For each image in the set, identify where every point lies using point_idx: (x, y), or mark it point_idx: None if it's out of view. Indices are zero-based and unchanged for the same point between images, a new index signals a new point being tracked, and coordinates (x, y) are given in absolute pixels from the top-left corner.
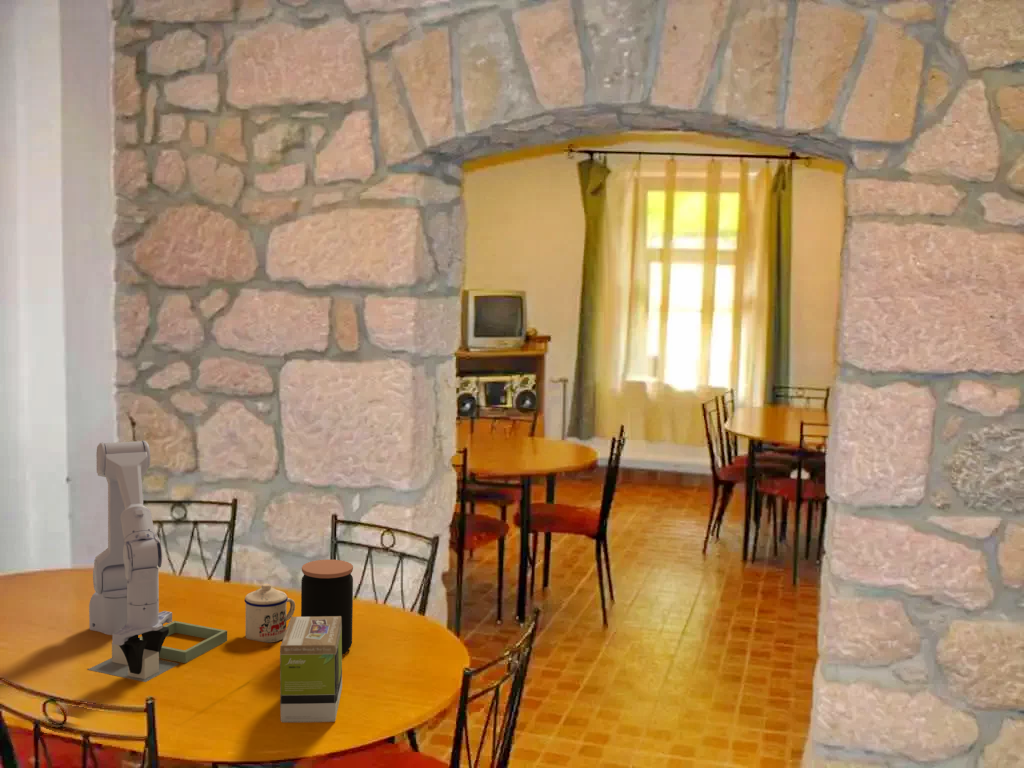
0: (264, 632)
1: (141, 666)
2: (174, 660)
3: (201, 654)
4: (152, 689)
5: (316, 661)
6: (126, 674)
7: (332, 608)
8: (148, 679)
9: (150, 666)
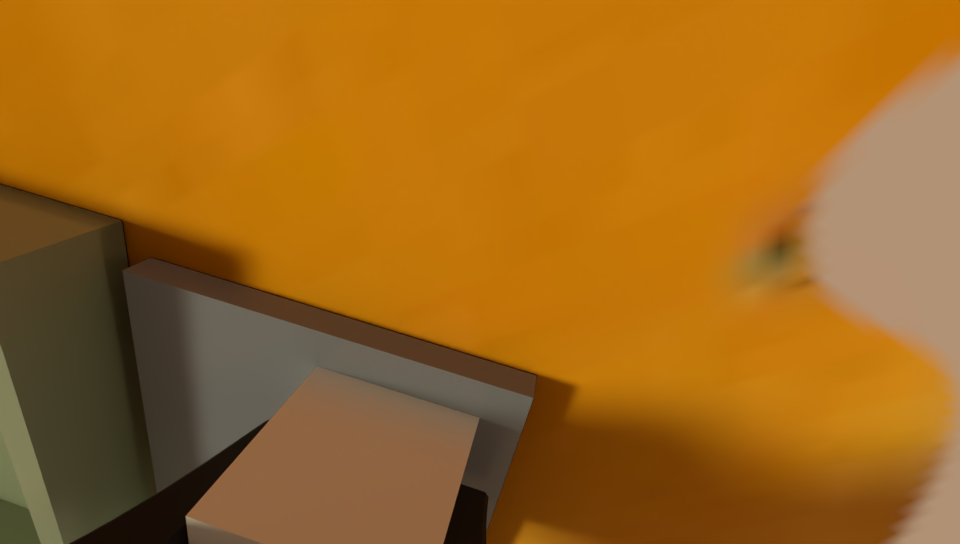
0: None
1: (451, 536)
2: (105, 328)
3: None
4: (595, 303)
5: None
6: None
7: None
8: (481, 391)
9: (380, 461)
